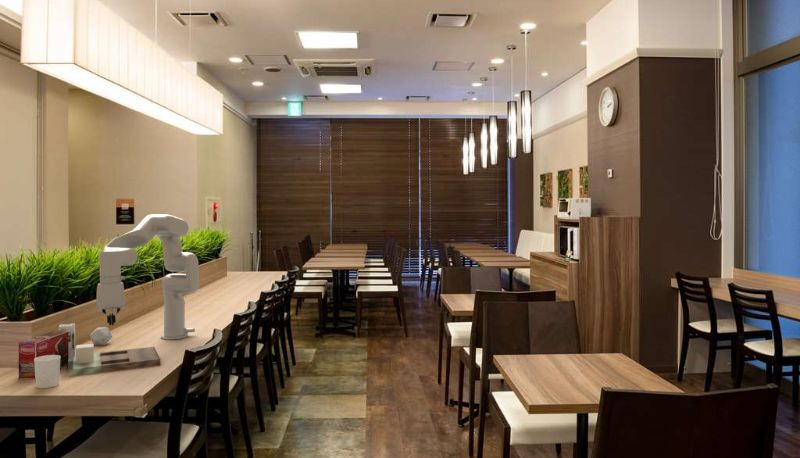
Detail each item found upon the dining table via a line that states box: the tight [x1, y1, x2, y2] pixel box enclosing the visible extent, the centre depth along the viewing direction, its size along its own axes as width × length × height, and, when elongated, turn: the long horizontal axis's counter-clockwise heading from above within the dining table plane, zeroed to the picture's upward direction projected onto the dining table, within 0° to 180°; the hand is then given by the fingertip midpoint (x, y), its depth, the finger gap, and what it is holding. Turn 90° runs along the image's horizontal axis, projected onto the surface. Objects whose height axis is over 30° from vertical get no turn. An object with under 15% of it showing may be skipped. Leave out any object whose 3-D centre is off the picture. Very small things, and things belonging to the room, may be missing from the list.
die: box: [89, 326, 113, 346], centre depth 253 cm, size 8×9×10 cm
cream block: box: [75, 343, 95, 364], centre depth 215 cm, size 6×6×6 cm
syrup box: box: [58, 323, 76, 355], centre depth 227 cm, size 6×6×14 cm
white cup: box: [34, 355, 61, 389], centre depth 192 cm, size 8×8×10 cm
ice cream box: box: [18, 330, 69, 380], centre depth 210 cm, size 20×6×13 cm, turn 1°
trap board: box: [67, 346, 161, 377], centre depth 221 cm, size 32×23×6 cm
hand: (111, 324), depth 221 cm, fingers closed
